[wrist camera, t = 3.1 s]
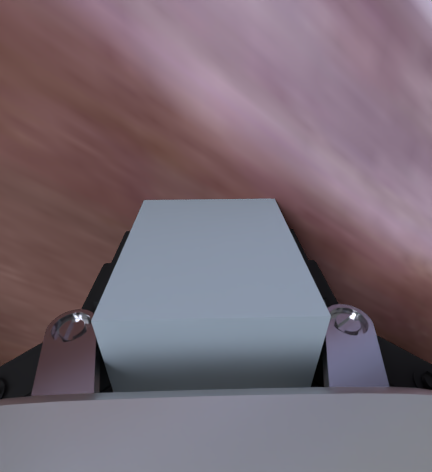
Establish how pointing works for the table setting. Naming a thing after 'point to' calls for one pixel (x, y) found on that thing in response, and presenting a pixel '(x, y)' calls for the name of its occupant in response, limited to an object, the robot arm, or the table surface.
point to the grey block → (210, 301)
